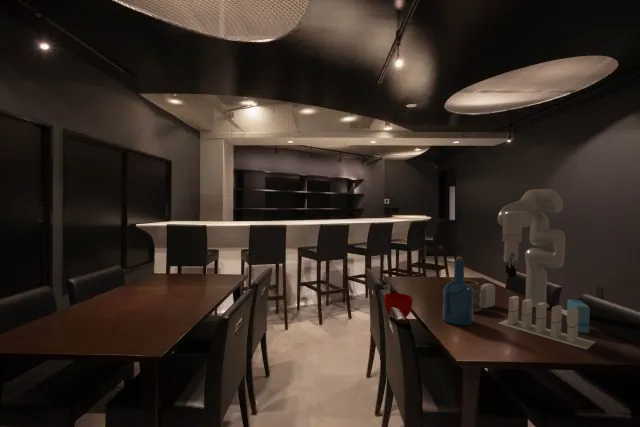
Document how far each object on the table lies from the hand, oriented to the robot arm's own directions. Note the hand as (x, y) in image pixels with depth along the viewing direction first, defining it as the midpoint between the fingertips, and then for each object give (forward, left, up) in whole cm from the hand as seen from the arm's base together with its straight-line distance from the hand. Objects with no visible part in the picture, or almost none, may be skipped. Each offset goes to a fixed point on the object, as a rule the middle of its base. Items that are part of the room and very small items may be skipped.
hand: (510, 275), depth 146 cm
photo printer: (-17, -18, -22) cm, 34 cm away
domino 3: (0, +13, -22) cm, 25 cm away
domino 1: (0, +2, -22) cm, 22 cm away
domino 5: (0, +24, -22) cm, 32 cm away
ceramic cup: (+37, -34, -22) cm, 55 cm away
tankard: (-5, -26, -22) cm, 35 cm away
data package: (-18, +21, -22) cm, 35 cm away
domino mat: (0, +14, -22) cm, 26 cm away
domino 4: (0, +18, -22) cm, 28 cm away
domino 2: (0, +7, -22) cm, 23 cm away
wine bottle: (+19, -14, -22) cm, 33 cm away
